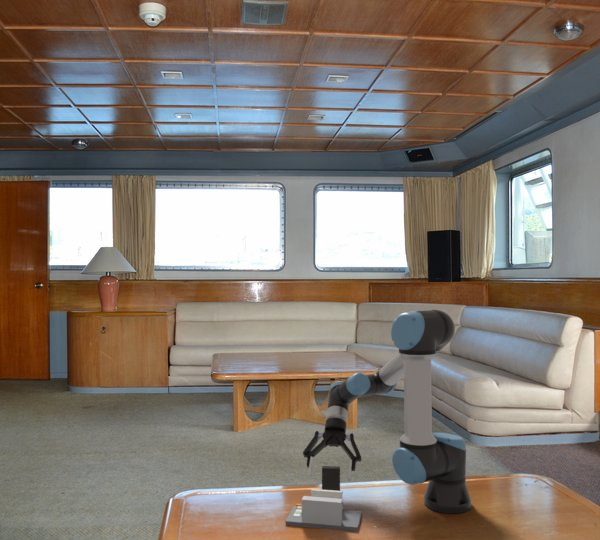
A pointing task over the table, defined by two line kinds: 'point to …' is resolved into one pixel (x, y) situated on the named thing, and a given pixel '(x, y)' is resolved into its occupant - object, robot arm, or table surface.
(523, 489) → the table surface
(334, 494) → the light gray flat plate
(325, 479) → the door stopper
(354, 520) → the base
